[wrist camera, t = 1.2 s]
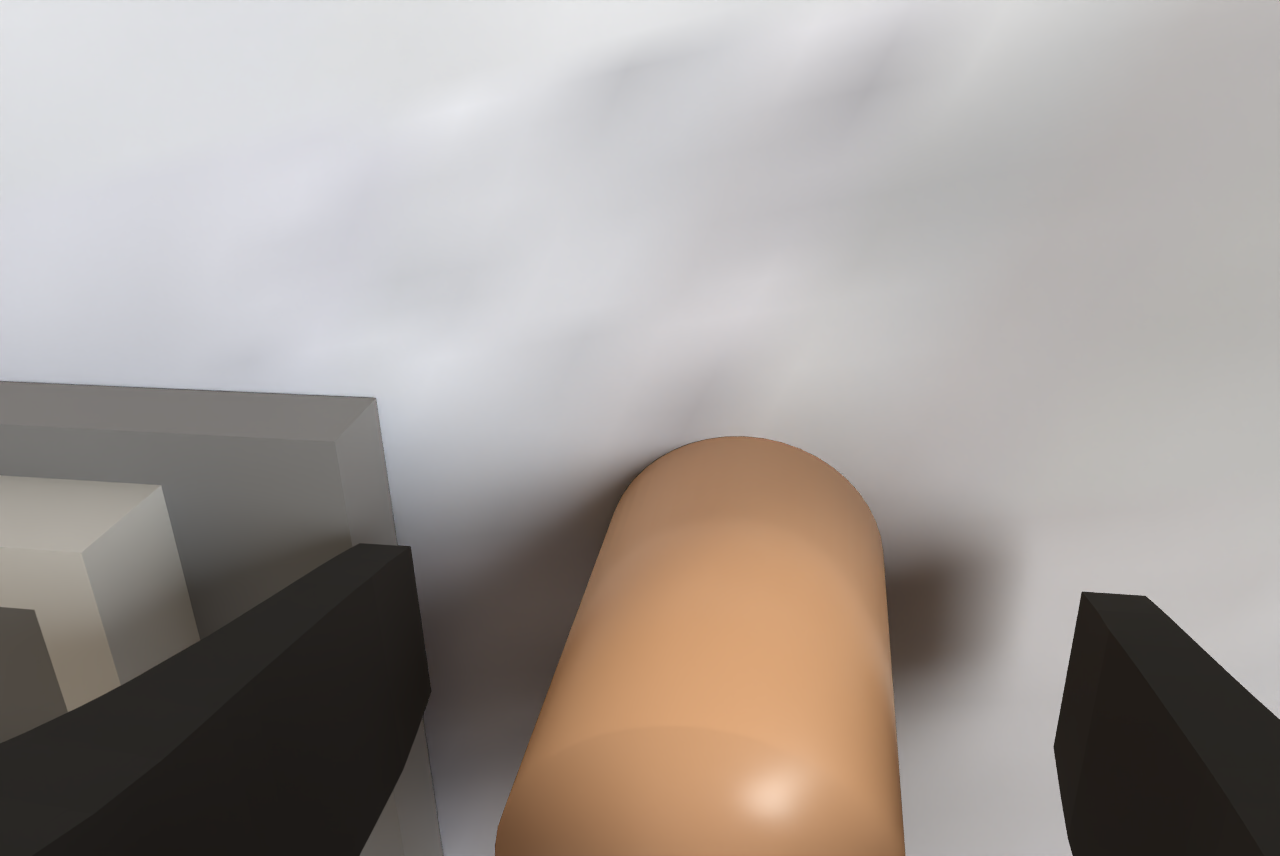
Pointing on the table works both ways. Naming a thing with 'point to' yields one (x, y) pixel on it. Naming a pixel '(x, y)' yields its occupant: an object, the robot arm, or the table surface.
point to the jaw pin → (722, 673)
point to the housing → (176, 539)
